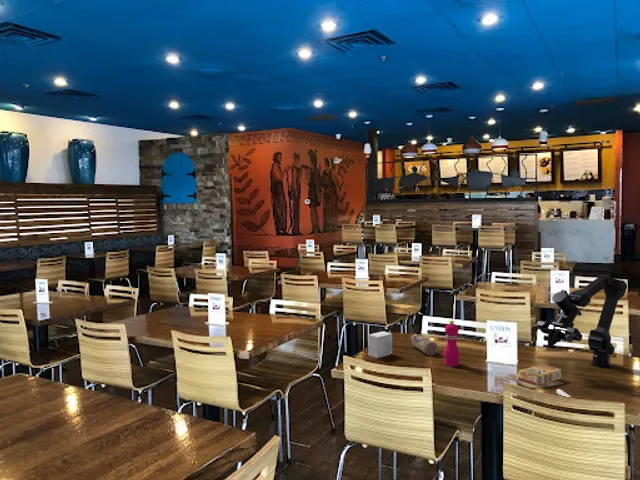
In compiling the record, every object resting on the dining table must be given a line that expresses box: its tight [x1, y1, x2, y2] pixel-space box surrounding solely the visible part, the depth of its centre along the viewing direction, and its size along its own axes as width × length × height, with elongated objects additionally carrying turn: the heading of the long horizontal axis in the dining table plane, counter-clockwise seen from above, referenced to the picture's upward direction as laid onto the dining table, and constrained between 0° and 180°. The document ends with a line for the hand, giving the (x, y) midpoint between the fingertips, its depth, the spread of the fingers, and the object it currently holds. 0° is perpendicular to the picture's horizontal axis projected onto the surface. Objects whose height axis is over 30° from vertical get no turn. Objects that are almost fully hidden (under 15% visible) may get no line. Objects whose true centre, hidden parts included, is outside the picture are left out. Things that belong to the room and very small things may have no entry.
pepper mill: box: [443, 320, 461, 367], centre depth 241 cm, size 7×7×20 cm
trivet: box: [503, 373, 564, 390], centre depth 219 cm, size 16×16×1 cm
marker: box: [555, 388, 572, 397], centre depth 194 cm, size 18×2×2 cm, turn 3°
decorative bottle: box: [410, 334, 439, 356], centre depth 269 cm, size 26×8×7 cm, turn 11°
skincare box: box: [367, 330, 393, 359], centre depth 258 cm, size 10×6×10 cm, turn 129°
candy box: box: [517, 364, 562, 386], centre depth 218 cm, size 9×4×15 cm
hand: (548, 346), depth 220 cm, fingers closed
